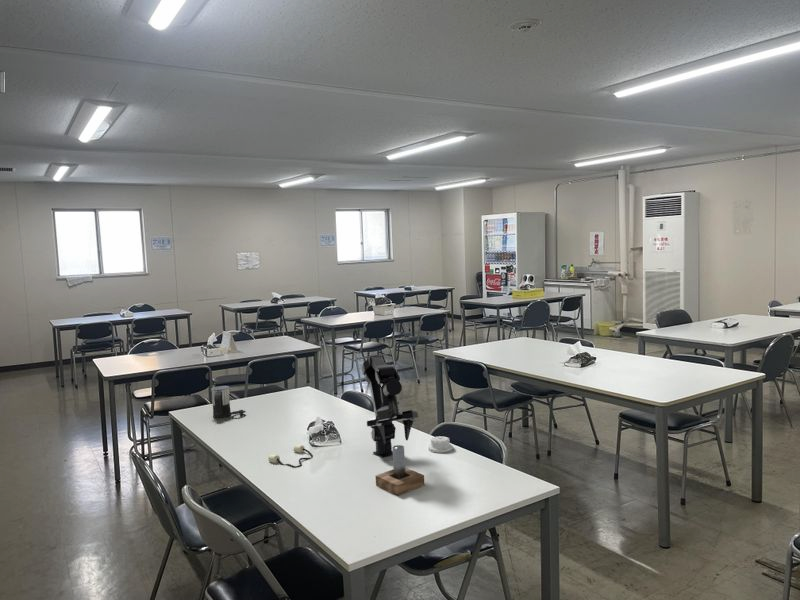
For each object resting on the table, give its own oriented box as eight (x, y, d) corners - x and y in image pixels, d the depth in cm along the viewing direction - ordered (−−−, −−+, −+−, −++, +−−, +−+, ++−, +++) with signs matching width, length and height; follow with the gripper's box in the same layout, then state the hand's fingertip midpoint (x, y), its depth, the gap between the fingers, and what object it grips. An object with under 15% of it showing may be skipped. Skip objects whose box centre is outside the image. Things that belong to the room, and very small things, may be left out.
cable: (324, 457, 233) (323, 448, 233) (294, 470, 220) (293, 462, 220) (297, 450, 242) (297, 442, 242) (267, 463, 229) (266, 454, 229)
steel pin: (392, 485, 199) (390, 448, 198) (397, 480, 203) (395, 444, 201) (403, 486, 197) (401, 449, 196) (407, 482, 201) (405, 445, 200)
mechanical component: (425, 447, 238) (432, 455, 228) (424, 436, 238) (432, 444, 228) (447, 443, 241) (456, 451, 231) (447, 433, 240) (456, 440, 231)
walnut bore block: (376, 485, 201) (375, 475, 201) (402, 475, 208) (402, 466, 208) (397, 495, 192) (397, 485, 191) (424, 484, 199) (424, 475, 199)
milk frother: (212, 414, 303) (209, 387, 302) (242, 410, 310) (240, 382, 309) (215, 421, 290) (212, 392, 289) (247, 416, 297) (244, 388, 296)
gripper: (357, 403, 211) (362, 446, 207) (403, 393, 205) (410, 438, 200) (371, 405, 221) (376, 446, 217) (415, 395, 215) (422, 438, 210)
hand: (395, 442), depth 211 cm, fingers open, 9 cm apart
